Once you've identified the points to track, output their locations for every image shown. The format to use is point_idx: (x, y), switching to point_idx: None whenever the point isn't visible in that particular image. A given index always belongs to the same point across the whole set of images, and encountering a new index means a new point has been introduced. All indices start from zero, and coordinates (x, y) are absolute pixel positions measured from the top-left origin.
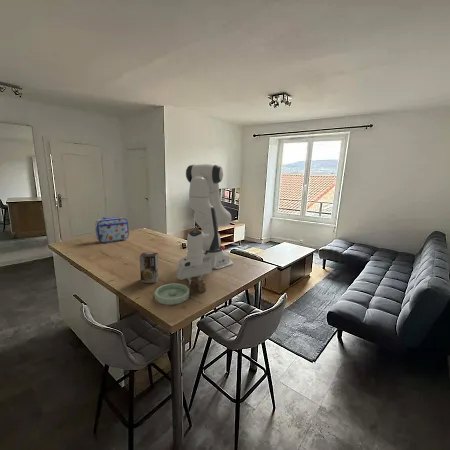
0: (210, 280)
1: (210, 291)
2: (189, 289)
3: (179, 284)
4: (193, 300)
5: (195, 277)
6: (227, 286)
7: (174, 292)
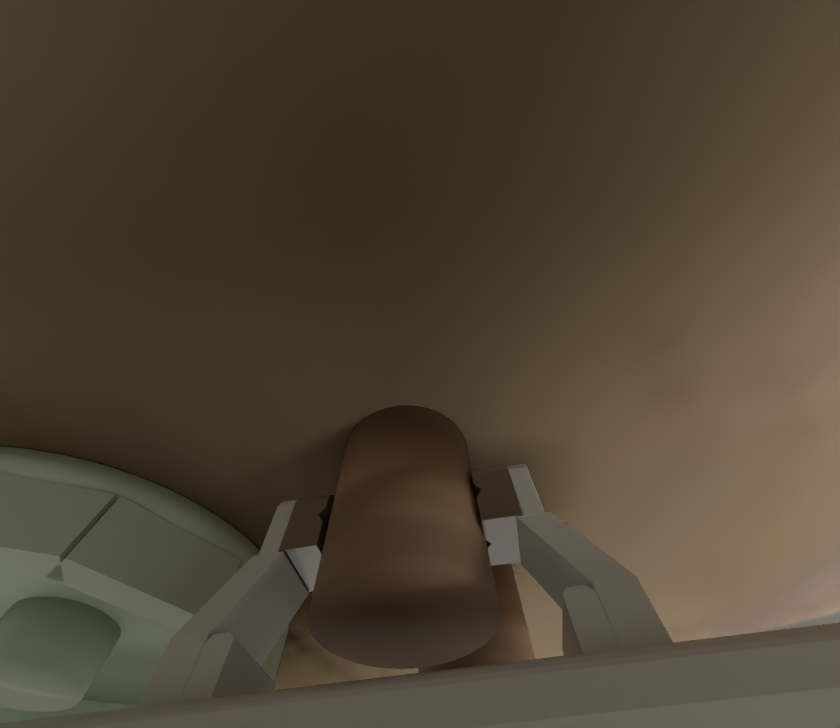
0: (781, 334)
1: (551, 599)
2: (274, 683)
3: (79, 584)
4: (326, 672)
5: (422, 617)
6: (820, 556)
7: (68, 704)
